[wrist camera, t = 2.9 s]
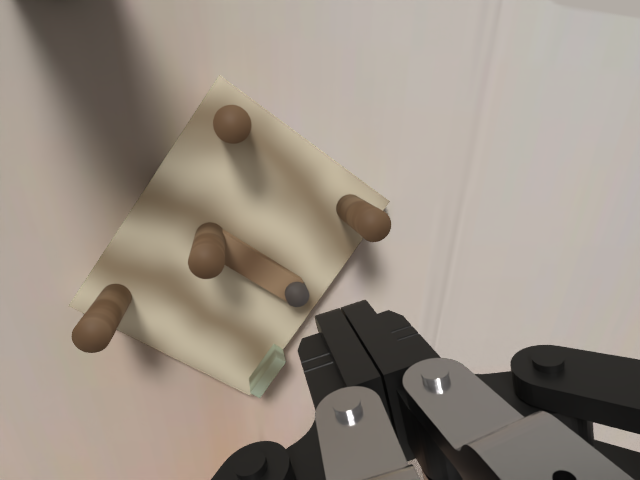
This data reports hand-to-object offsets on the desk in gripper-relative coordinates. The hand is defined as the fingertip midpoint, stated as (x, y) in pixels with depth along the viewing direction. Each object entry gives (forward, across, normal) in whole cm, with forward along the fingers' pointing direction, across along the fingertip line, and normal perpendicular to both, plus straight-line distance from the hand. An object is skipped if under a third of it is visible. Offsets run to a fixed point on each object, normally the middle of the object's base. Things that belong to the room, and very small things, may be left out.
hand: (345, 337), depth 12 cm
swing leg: (+25, +3, +5) cm, 26 cm away
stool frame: (+28, +4, +4) cm, 28 cm away
